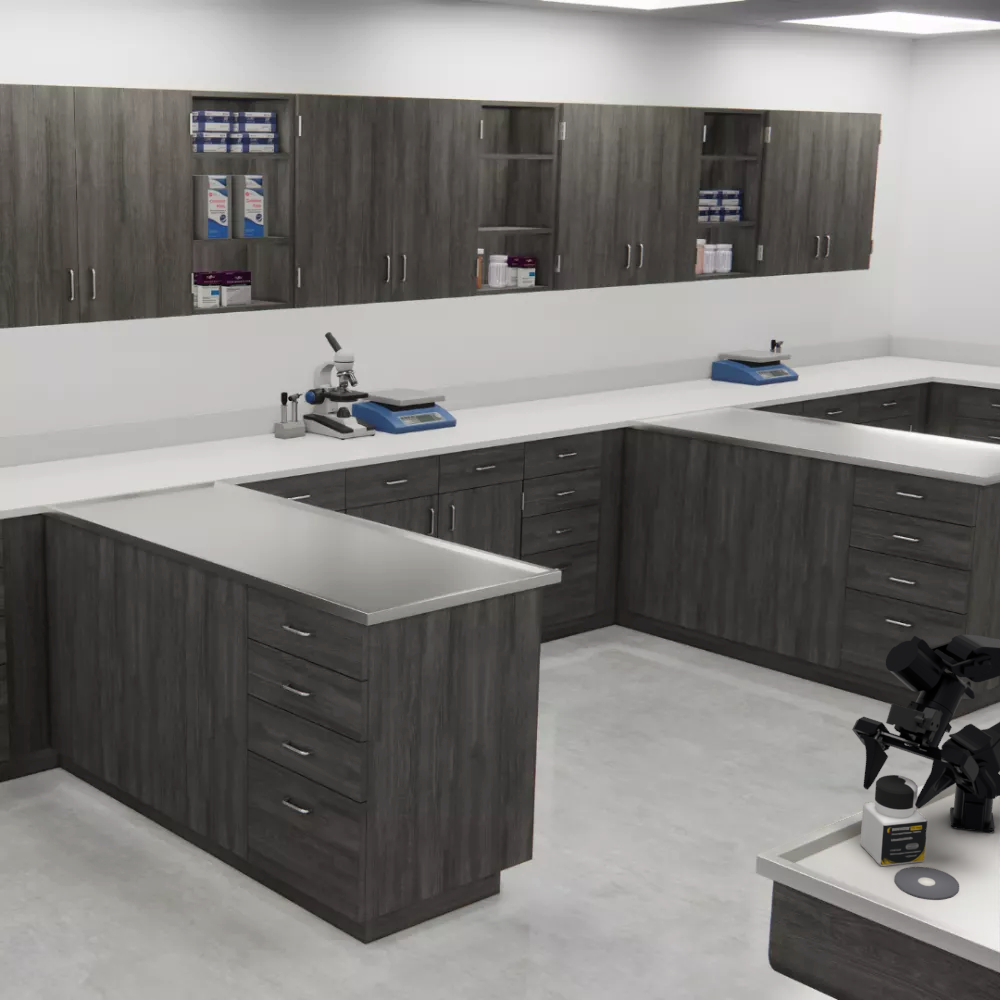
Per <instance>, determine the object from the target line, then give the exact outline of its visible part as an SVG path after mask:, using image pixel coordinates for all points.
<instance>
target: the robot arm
mask: <svg viewBox="0 0 1000 1000" xmlns="http://www.w3.org/2000/svg"><path fill="white" fill-rule="evenodd" d="M885 667H886V669H887V670H888V671H890V673H891V674H892V675H894V677H896V678H897V679H898V680H899V681H900V682H901V683H903V684H904V685H905V686H906V687H907V688H908V689H909V690H911V691H912V692H915V693H919V695H918V697H917V699H916V701H913V700H911V701H910V703H908V706H907V707H906V706H903V705H899V704H896V703H894V702H893V703H891V706H890V708H889V712H888V715H887V718H886V722H885V723H886V724H888V725H891V726H893V729H894V730H895V732H898V733H899V734H896V733H892V732H890V730H888V728H887V727H886V725H885V723H884V722H881V721H879V720H876V719H873V718H870V717H867V716H862V717H859V718H858V719H856V721H855V723H854V725H853V727H852V729H851V730H852V731H853V732H854V734H855V735H856V737H857V738H858V739H859V741H860V742H861V743H862V745H864V747H865V767H864V774H863V775H864V777H863V786H862V787H863V789H865V790H867V791H869V789H870V788H871V787H872V785H874V783H875V781H876V779H877V778H878V775H879V774H880V772H881V770H882V768H883V767H884V765H885V763H886V762H887V760H888V758H889V755H887V753H886V752H885V751H888V750H890V747H892V748H896V749H899V750H901V751H904V752H907V753H910V754H912V755H916V756H919V757H921V758H925V759H928V760H931V761H932V765H931V771H930V773H929V775H928V777H927V778H926V780H925V782H924V784H923V787H922V788H921V790H920V792H919V794H918V795H917V801H916V803H915V806H916V809H921V808H922V807H924V806H925V805H926V804H927V803H929V802H930V801H931V800H932V799H934V798H935V797H936V796H937V795H939V794H941V793H942V792H943V791H945V790H947V789H948V788H950V787H952V786H954V785H955V790H954V791H955V792H954V804H953V807H950V808H949V816H950V818H949V820H950V827H951V828H954V829H959V830H967V831H969V830H970V831H978V832H983V833H984V832H985V833H995V828H996V827H995V820H994V819H995V818H994V814H993V802H994V800H995V799H996V798H997V797H1000V721H999V722H997V723H995V724H994V725H992V726H990V727H989V728H985V729H980V728H979V727H977V726H976V725H974V724H972V723H969V724H966V725H965V726H963V727H962V728H961V729H960V730H958V731H957V732H955V733H950V731H951V730H952V728H953V727H952V725H951V723H950V722H951V721H952V719H953V717H954V714H955V712H956V710H957V708H958V706H959V704H960V703H961V700H962V699H967V700H975V698H976V697H975V692H974V690H973V688H972V684H971V683H972V682H974V683H984V682H986V681H990V680H994V679H996V678H999V677H1000V639H999V638H992V637H988V636H984V635H983V636H982V635H975V634H965V633H964V634H958V635H955V636H953V637H952V638H951V640H950V641H948V642H945V643H941V644H938V645H935V646H932V647H930V645H929V644H928V643H927V642H926V641H925V640H924V639H923V638H922V637H919V636H918V635H913V637H912V638H911V639H910V640H905V641H901V643H898V644H897V645H896V646H893V647H891V649H890V650H889V652H888V653H887V656H886V659H885ZM946 670H947V671H948V672H947V671H946ZM961 678H967V679H968V680H962V679H961ZM969 680H970V681H969ZM971 681H972V682H971ZM945 733H947V734H948V733H949V735H948V737H949V738H948V739H947V740H946V741H945V742H943V744H942V745H941V748H940V747H939V745H940V743H941V741H942V739H943V737H944V735H945Z"/></svg>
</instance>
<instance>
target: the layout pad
mask: <svg viewBox="0 0 1000 1000" xmlns="http://www.w3.org/2000/svg"><path fill="white" fill-rule="evenodd" d="M894 884H895V885H896V886H897V887H898V889H899V890H901V891H902V892H904V893H906V894H908V895H910V896H913V897H916V898H921V899H924V900H938V901H939V900H946V899H949V898H951V897H954V896H956V895H957V894H958V893H959V890H960V884H959V881H958V880H957V879H956V878H955V877H954V876H952V875H951V874H949V873H948V872H945V871H944V870H941V869H937V868H935V867H934V868H933V867H929V866H918V865H917V866H909V867H904V868H901V869H900V870H898V871H897V872H896V873H895V875H894Z"/></svg>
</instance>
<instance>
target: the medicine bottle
mask: <svg viewBox="0 0 1000 1000" xmlns="http://www.w3.org/2000/svg"><path fill="white" fill-rule="evenodd" d="M875 781H876V782H875V792H874V801H870V802H863V804H862V813H861V829H860V846H861V847H863V849H864V850H865V851H866V852H867V853H868V854H869V855H870V856H871V857H872V858H873V860H874V861H876V863H878V865H879V866H880V867H888V866H889V867H890V866H897V865H907V864H913V863H914V864H916V863H923V862H925V856H926V841H927V831H928V829H927V828H928V818H927V817H925V816H924V814H922V813H921V812H920V811H919V810H918V808H917V807H916V806H915V803H916V801H917V798H918V791H919V790H918V787H919V786H918V784H917V783H916V782H915V781H914V780H913V779H911V778H910V777H909V778H908V777H906V776H903V775H897V774H890V775H889V774H888V775H883V776H881V777H879V778H878V779H877V780H875Z"/></svg>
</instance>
